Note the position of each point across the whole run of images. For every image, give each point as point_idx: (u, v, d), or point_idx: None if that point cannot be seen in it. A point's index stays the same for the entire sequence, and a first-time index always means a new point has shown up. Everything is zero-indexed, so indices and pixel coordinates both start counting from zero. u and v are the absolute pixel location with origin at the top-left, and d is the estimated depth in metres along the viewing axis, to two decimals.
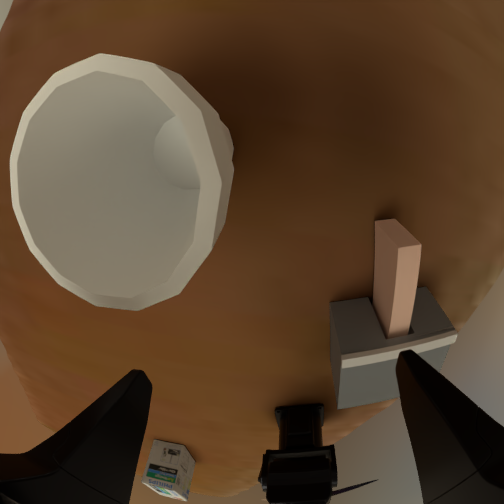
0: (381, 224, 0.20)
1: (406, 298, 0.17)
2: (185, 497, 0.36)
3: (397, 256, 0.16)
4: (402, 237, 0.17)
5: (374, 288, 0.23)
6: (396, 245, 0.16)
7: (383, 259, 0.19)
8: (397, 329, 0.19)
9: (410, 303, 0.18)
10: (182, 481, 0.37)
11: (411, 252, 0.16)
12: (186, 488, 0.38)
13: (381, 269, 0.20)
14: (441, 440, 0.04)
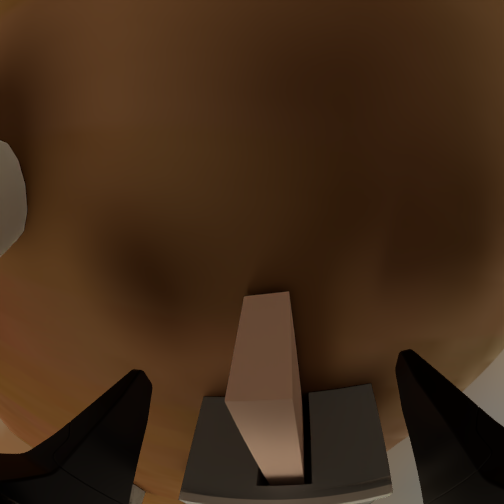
0: (248, 309, 0.10)
1: (279, 454, 0.08)
2: None
3: (230, 411, 0.07)
4: (261, 362, 0.08)
5: None
6: (227, 389, 0.07)
7: None
8: (279, 475, 0.09)
9: (292, 458, 0.08)
10: None
11: (265, 409, 0.07)
12: None
13: None
14: (441, 440, 0.04)
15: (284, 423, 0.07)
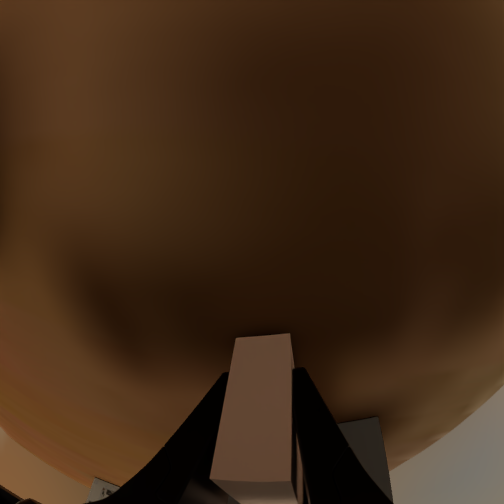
0: (240, 356, 0.08)
1: None
2: None
3: (217, 484, 0.05)
4: (254, 432, 0.06)
5: None
6: (213, 464, 0.05)
7: None
8: None
9: None
10: None
11: (258, 486, 0.05)
12: None
13: None
14: (303, 471, 0.05)
15: (281, 493, 0.05)
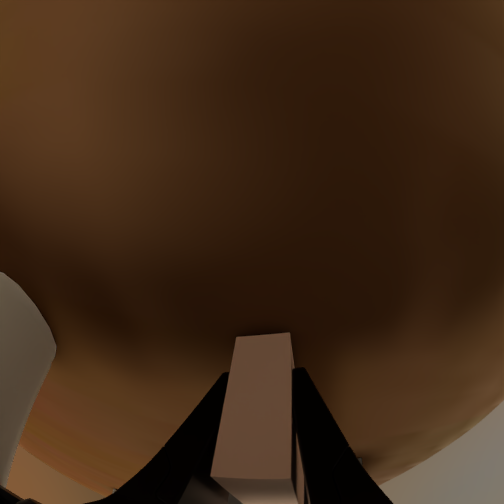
0: (241, 355, 0.08)
1: None
2: None
3: (218, 482, 0.05)
4: (255, 429, 0.06)
5: None
6: (213, 462, 0.05)
7: None
8: None
9: None
10: None
11: (259, 483, 0.05)
12: None
13: None
14: None
15: (281, 491, 0.05)
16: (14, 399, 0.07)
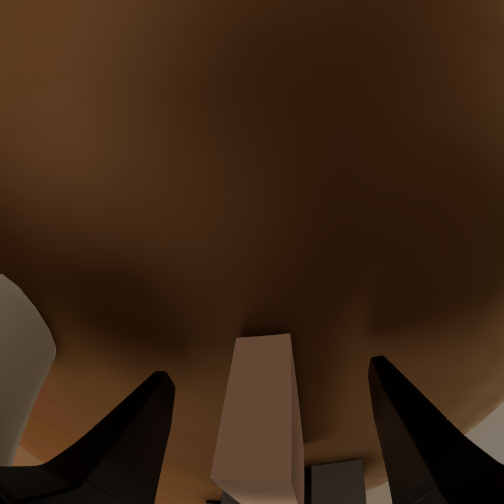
0: (240, 356, 0.08)
1: None
2: None
3: (218, 484, 0.05)
4: (255, 432, 0.06)
5: None
6: (213, 464, 0.05)
7: None
8: None
9: None
10: None
11: (258, 486, 0.05)
12: None
13: None
14: (406, 452, 0.04)
15: (281, 493, 0.05)
16: (14, 401, 0.07)
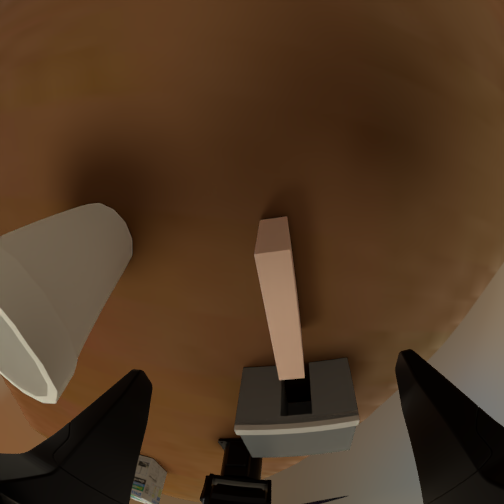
0: (263, 224, 0.17)
1: (284, 316, 0.15)
2: None
3: (256, 265, 0.14)
4: (272, 240, 0.15)
5: None
6: None
7: None
8: (285, 353, 0.17)
9: (293, 323, 0.16)
10: (151, 489, 0.38)
11: (276, 260, 0.14)
12: (156, 496, 0.39)
13: None
14: (441, 440, 0.04)
15: (287, 275, 0.14)
16: (109, 274, 0.16)
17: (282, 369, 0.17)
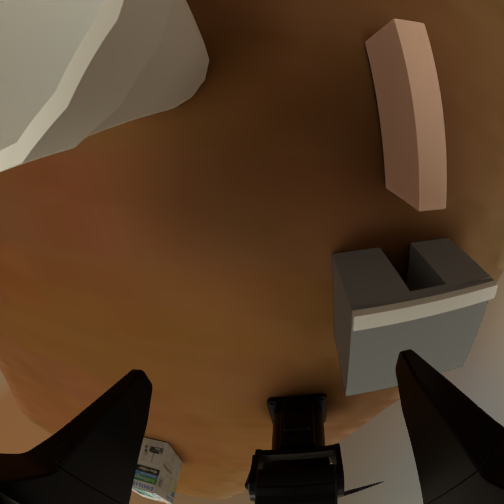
0: None
1: (428, 96, 0.09)
2: (170, 500, 0.31)
3: (397, 29, 0.08)
4: None
5: (382, 132, 0.15)
6: (391, 20, 0.08)
7: (384, 68, 0.11)
8: (430, 155, 0.11)
9: (437, 108, 0.10)
10: (166, 482, 0.32)
11: (414, 29, 0.08)
12: (171, 491, 0.33)
13: (385, 86, 0.12)
14: (441, 440, 0.04)
15: (425, 46, 0.08)
16: (197, 48, 0.10)
17: (425, 188, 0.12)
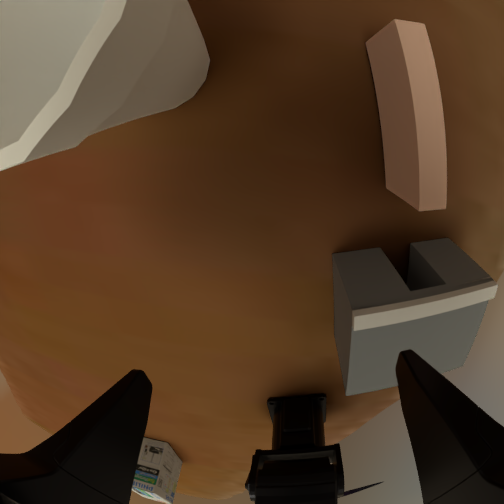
0: None
1: (429, 96, 0.10)
2: (169, 501, 0.31)
3: (397, 29, 0.08)
4: None
5: (383, 132, 0.15)
6: (391, 21, 0.08)
7: (384, 68, 0.11)
8: (430, 155, 0.11)
9: (438, 108, 0.10)
10: (165, 482, 0.32)
11: (414, 29, 0.08)
12: (170, 491, 0.33)
13: (386, 86, 0.12)
14: (441, 440, 0.04)
15: (425, 47, 0.08)
16: (198, 48, 0.10)
17: (425, 188, 0.12)
